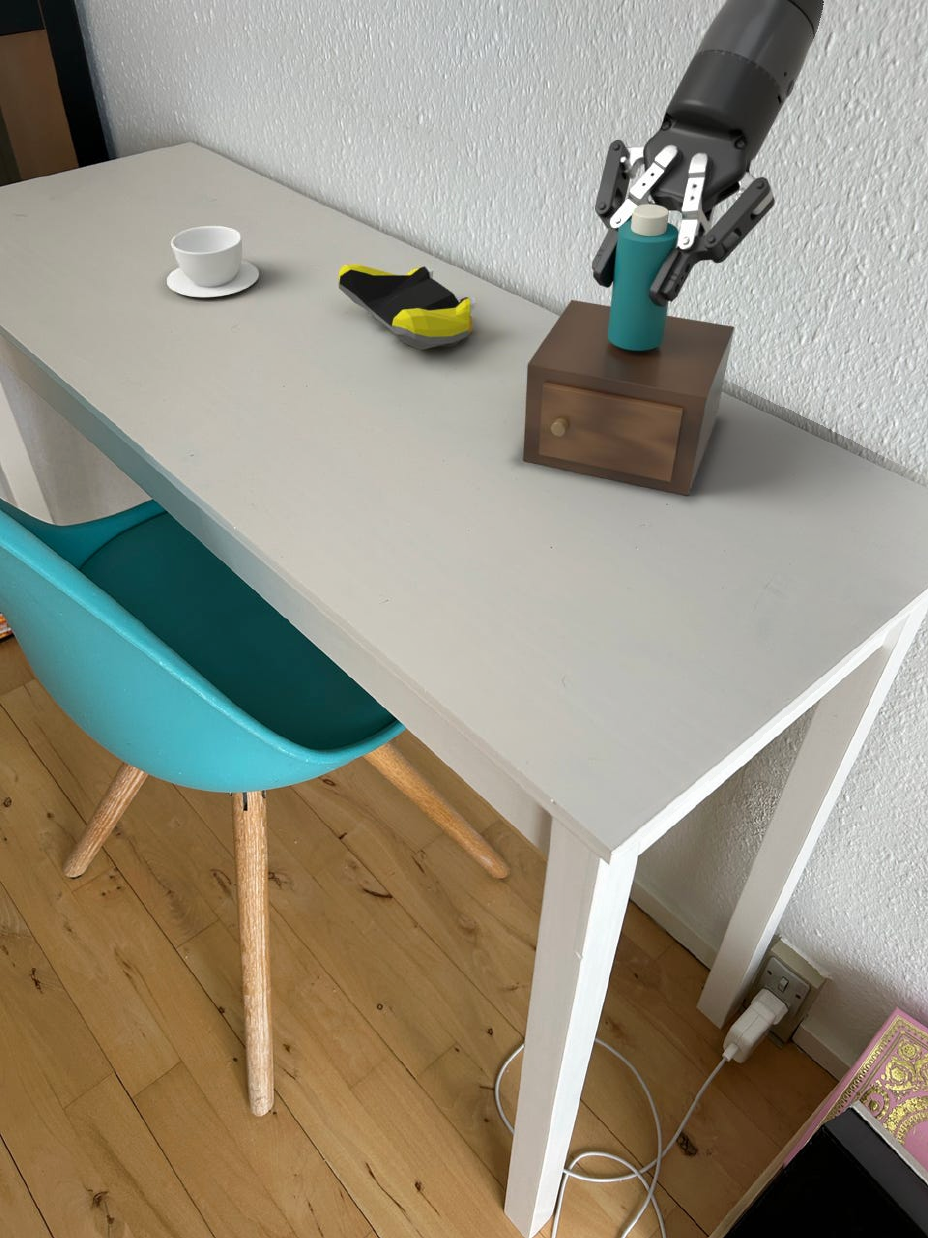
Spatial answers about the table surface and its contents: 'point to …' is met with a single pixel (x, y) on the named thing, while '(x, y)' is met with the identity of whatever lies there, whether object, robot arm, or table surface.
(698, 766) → the table surface
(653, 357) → the storage box
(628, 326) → the water bottle
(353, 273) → the multicoloured piece
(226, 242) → the teacup
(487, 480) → the table surface
